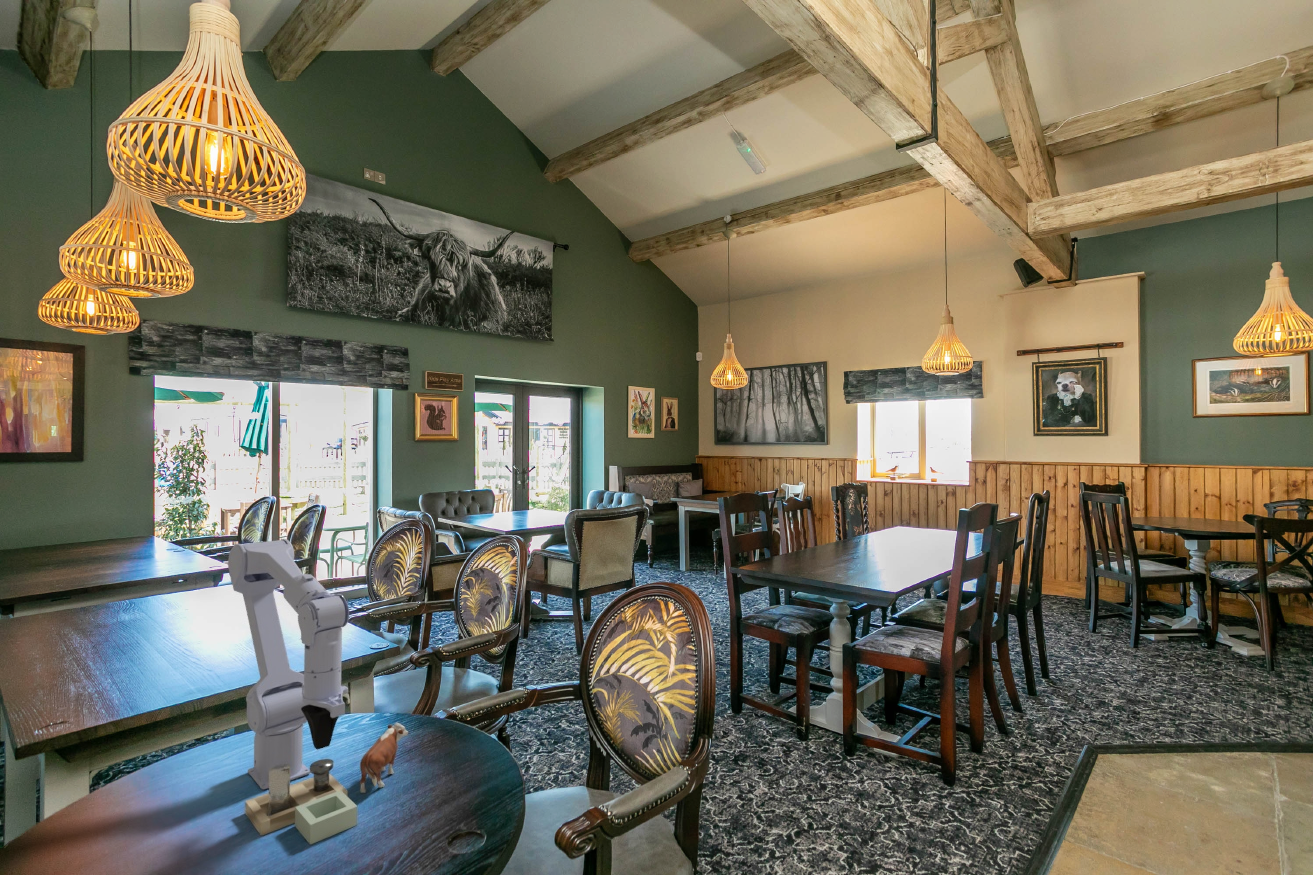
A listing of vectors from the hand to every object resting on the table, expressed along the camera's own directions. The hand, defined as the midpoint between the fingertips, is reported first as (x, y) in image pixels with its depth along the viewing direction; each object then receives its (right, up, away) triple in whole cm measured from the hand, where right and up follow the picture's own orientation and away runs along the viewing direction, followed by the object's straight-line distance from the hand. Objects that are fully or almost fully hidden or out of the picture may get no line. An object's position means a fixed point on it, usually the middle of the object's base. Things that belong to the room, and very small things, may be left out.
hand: (321, 746), depth 109 cm
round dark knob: (0, -7, 0) cm, 7 cm away
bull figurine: (+7, -10, +8) cm, 14 cm away
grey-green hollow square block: (+4, -9, -7) cm, 13 cm away
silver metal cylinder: (-4, -9, -5) cm, 11 cm away
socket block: (-2, -9, -3) cm, 10 cm away
